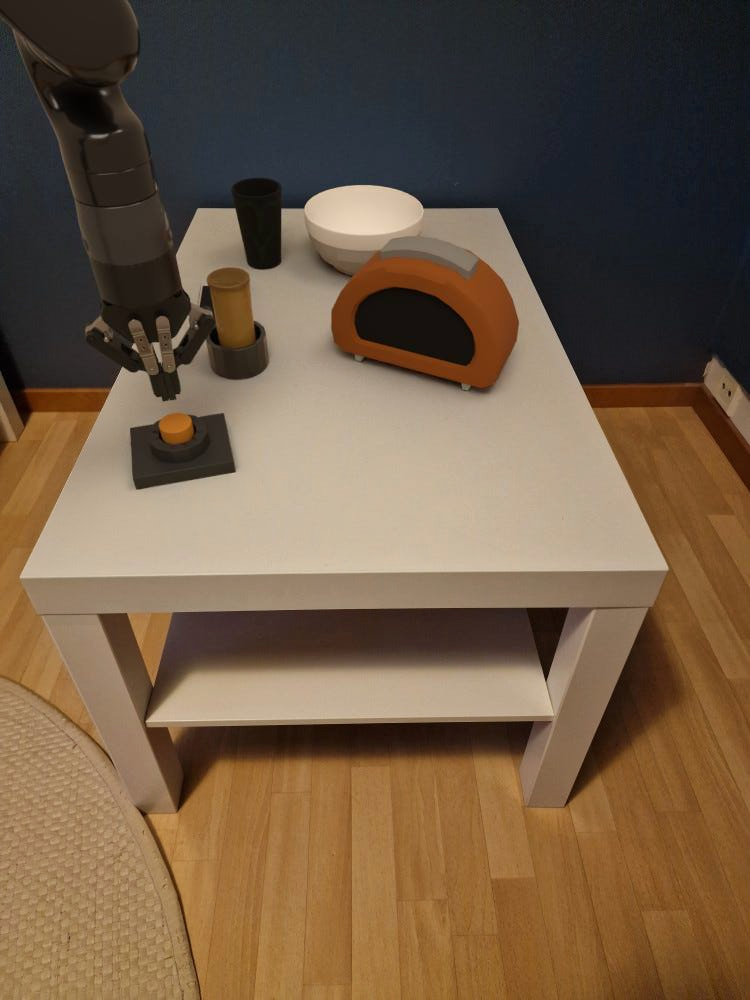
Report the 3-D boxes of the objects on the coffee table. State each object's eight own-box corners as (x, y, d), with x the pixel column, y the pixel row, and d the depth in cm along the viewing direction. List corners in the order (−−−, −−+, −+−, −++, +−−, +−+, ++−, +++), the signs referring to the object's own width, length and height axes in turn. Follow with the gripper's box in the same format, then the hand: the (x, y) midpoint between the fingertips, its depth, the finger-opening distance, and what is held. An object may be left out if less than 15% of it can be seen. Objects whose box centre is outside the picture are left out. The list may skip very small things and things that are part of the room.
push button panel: (136, 489, 76) (128, 466, 74) (133, 438, 82) (126, 415, 80) (235, 472, 78) (231, 449, 76) (225, 423, 84) (221, 400, 82)
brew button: (163, 447, 76) (159, 435, 75) (160, 427, 79) (157, 415, 78) (195, 441, 77) (192, 429, 76) (192, 422, 80) (189, 410, 78)
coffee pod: (223, 373, 91) (209, 290, 82) (218, 351, 94) (204, 269, 86) (262, 367, 92) (252, 284, 83) (256, 346, 95) (246, 264, 87)
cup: (265, 277, 110) (256, 201, 101) (231, 263, 113) (220, 188, 105) (297, 259, 114) (291, 185, 106) (263, 246, 118) (255, 173, 109)
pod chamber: (214, 383, 90) (208, 354, 87) (207, 351, 95) (202, 322, 92) (273, 374, 92) (270, 345, 88) (263, 343, 97) (260, 314, 94)
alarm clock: (330, 357, 95) (325, 239, 83) (357, 325, 100) (357, 211, 88) (493, 401, 88) (514, 281, 76) (513, 365, 94) (535, 247, 82)
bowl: (411, 233, 122) (413, 183, 115) (429, 286, 109) (433, 232, 102) (304, 238, 120) (301, 186, 114) (310, 292, 107) (306, 237, 101)
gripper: (199, 216, 66) (225, 367, 78) (53, 231, 63) (105, 385, 75) (208, 251, 61) (234, 407, 73) (50, 270, 58) (105, 428, 70)
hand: (168, 396), depth 74 cm, fingers closed
